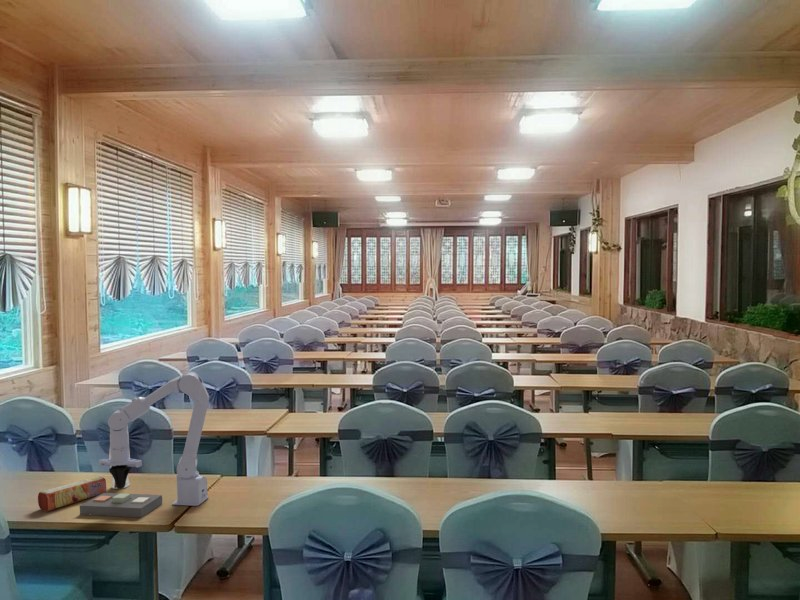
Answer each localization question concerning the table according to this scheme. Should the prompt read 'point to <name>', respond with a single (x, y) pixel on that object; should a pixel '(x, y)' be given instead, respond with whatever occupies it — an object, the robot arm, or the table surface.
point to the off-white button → (140, 500)
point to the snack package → (71, 493)
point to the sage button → (121, 498)
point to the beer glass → (114, 480)
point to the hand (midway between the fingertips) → (121, 487)
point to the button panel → (121, 506)
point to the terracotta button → (102, 499)
